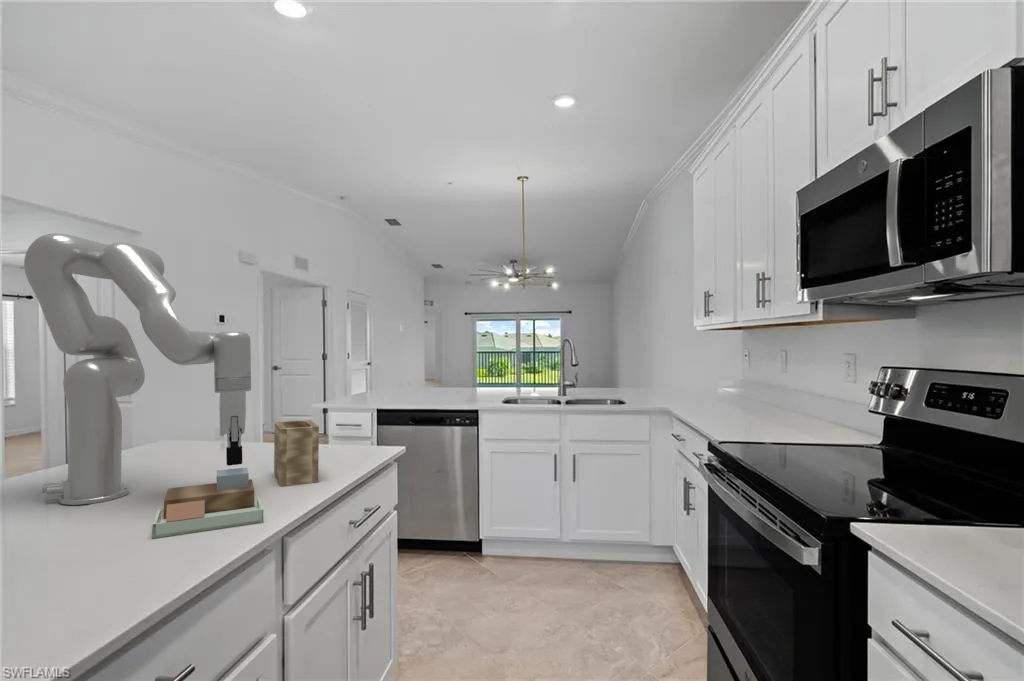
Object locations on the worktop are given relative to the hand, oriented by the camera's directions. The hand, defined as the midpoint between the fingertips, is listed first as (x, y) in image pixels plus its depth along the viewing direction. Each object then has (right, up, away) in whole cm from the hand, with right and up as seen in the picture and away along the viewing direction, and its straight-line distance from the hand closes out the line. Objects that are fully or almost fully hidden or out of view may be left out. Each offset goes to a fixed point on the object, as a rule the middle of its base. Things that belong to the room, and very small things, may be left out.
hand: (234, 464), depth 121 cm
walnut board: (0, -7, -10) cm, 12 cm away
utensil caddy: (+8, -7, +15) cm, 19 cm away
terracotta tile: (+2, -3, -21) cm, 22 cm away
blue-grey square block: (+3, -3, -7) cm, 8 cm away
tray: (+5, -7, -19) cm, 21 cm away
